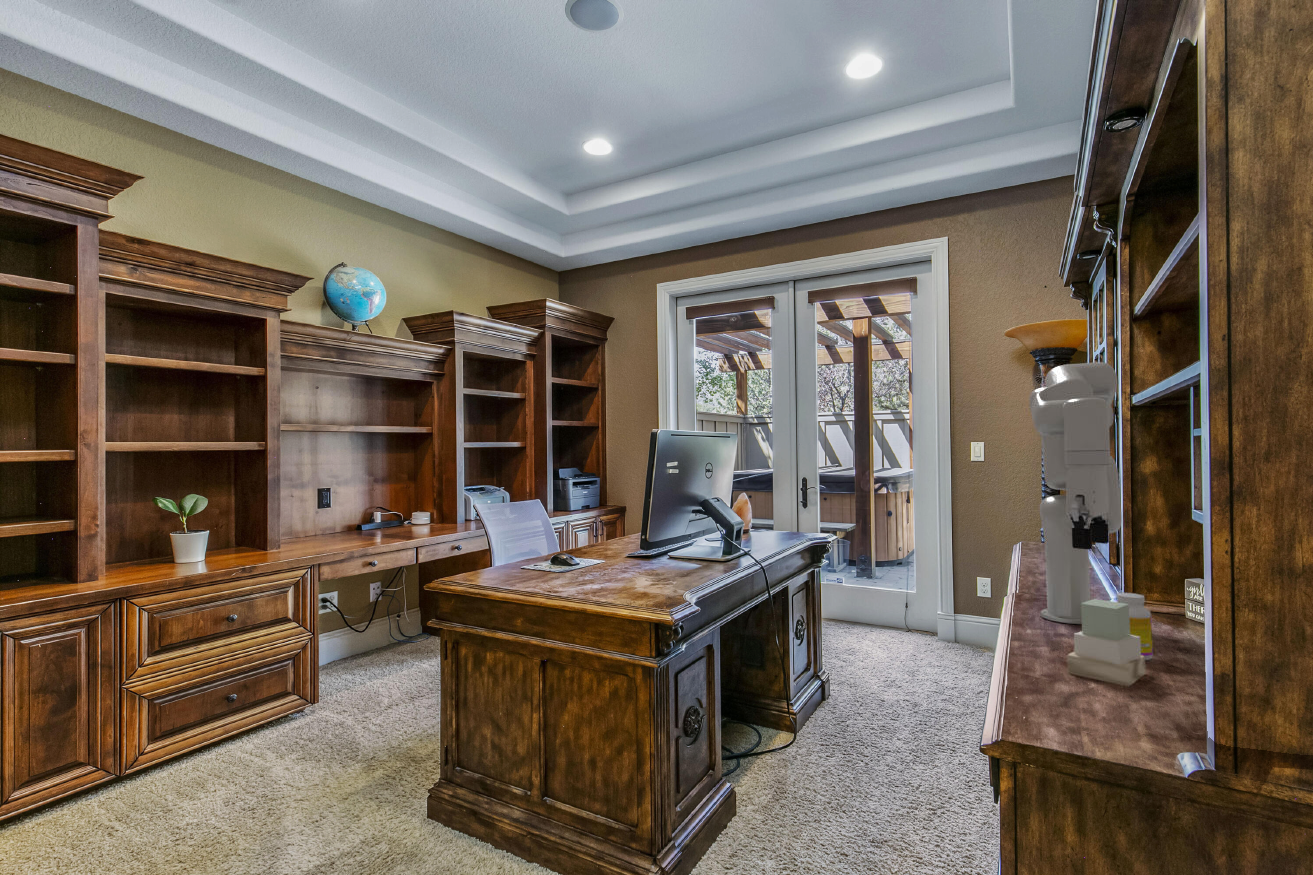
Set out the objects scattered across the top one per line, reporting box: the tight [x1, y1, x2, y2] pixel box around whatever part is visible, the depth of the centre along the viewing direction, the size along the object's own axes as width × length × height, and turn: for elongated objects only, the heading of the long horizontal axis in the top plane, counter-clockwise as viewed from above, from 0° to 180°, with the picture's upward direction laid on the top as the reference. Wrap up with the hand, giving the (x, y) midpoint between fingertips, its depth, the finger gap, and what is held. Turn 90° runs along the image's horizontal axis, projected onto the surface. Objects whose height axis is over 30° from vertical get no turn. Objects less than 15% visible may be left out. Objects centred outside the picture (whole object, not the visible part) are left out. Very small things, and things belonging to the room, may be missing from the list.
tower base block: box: [1066, 651, 1146, 687], centre depth 126 cm, size 10×10×4 cm
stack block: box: [1081, 598, 1130, 641], centre depth 127 cm, size 6×6×6 cm
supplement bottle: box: [1116, 592, 1154, 661], centre depth 136 cm, size 7×7×13 cm
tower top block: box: [1073, 630, 1141, 665], centre depth 126 cm, size 8×8×4 cm
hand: (1090, 545), depth 129 cm, fingers open, 9 cm apart
